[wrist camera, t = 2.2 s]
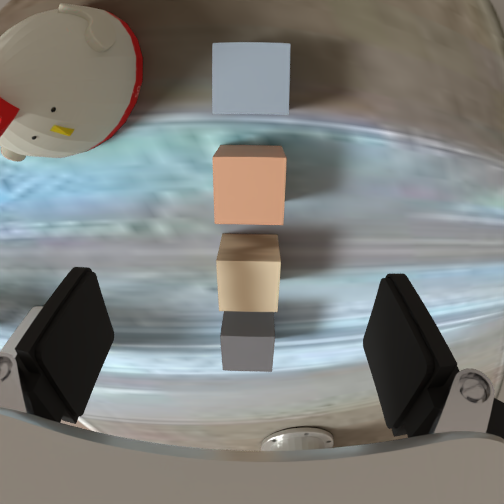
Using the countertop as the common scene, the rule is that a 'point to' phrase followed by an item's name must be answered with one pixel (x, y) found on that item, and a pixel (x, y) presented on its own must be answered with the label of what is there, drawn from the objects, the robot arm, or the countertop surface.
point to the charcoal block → (247, 341)
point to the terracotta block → (249, 184)
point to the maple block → (248, 272)
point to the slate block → (250, 78)
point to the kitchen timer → (66, 81)
